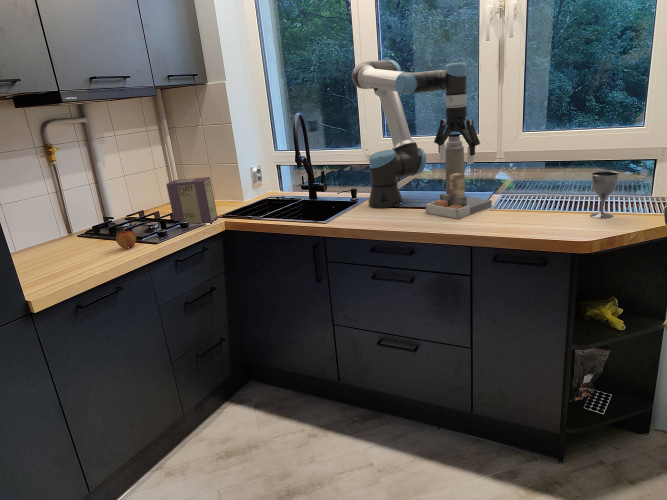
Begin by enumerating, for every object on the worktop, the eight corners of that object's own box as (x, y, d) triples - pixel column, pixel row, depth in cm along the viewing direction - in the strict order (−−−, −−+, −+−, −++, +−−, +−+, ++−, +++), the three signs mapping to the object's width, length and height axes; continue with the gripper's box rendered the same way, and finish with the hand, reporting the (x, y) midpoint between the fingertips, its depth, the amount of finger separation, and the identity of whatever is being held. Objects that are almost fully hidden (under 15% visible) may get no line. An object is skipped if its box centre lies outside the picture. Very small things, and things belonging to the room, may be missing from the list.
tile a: (439, 210, 193) (435, 211, 191) (439, 199, 191) (434, 200, 190) (448, 211, 189) (443, 213, 188) (447, 200, 188) (443, 202, 186)
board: (437, 209, 196) (437, 203, 195) (459, 201, 204) (459, 195, 203) (469, 214, 184) (469, 208, 183) (491, 206, 191) (491, 200, 190)
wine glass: (611, 212, 168) (615, 170, 163) (617, 218, 161) (621, 174, 156) (586, 213, 170) (589, 171, 166) (591, 219, 163) (594, 176, 158)
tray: (425, 213, 192) (425, 204, 191) (437, 209, 196) (437, 200, 195) (457, 219, 180) (457, 209, 178) (469, 214, 184) (469, 205, 182)
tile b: (446, 213, 186) (446, 208, 185) (454, 210, 189) (453, 204, 188) (455, 215, 183) (455, 209, 182) (463, 211, 185) (462, 205, 184)
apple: (128, 251, 183) (123, 231, 181) (114, 250, 186) (109, 231, 184) (142, 245, 190) (137, 226, 187) (128, 244, 192) (123, 226, 190)
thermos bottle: (449, 195, 217) (448, 133, 208) (466, 195, 213) (466, 132, 204) (443, 199, 211) (441, 135, 202) (461, 199, 207) (460, 134, 198)
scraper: (440, 204, 193) (439, 174, 190) (449, 201, 196) (448, 172, 193) (463, 207, 184) (463, 177, 180) (473, 204, 187) (472, 174, 183)
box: (218, 219, 218) (210, 176, 211) (211, 225, 209) (203, 180, 203) (183, 222, 219) (174, 180, 213) (175, 228, 211) (166, 184, 204)
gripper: (424, 107, 186) (425, 161, 193) (477, 107, 167) (476, 166, 174) (437, 105, 190) (438, 158, 197) (490, 104, 171) (489, 163, 178)
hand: (456, 162), depth 186 cm, fingers open, 13 cm apart
